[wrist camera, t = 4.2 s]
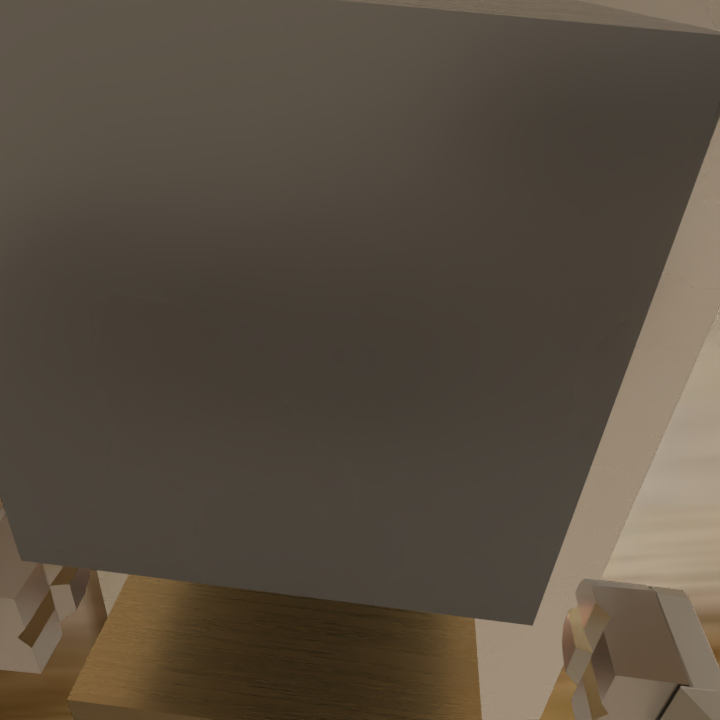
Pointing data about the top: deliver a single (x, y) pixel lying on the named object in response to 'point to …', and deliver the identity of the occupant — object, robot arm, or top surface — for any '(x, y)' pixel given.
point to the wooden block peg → (273, 659)
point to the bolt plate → (353, 295)
